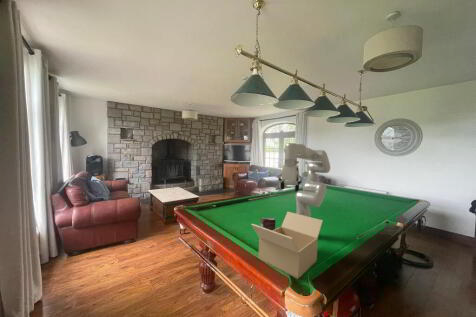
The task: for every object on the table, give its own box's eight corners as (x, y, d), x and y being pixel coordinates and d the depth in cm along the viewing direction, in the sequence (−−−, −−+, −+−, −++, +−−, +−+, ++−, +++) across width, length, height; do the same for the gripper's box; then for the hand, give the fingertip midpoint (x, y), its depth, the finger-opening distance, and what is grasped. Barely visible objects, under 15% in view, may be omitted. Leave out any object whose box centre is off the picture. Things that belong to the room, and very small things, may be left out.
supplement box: (271, 241, 117) (272, 217, 118) (275, 245, 113) (276, 219, 113) (259, 243, 115) (260, 217, 115) (262, 246, 110) (263, 220, 110)
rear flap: (281, 226, 112) (281, 226, 112) (317, 238, 97) (317, 238, 97) (287, 211, 117) (287, 212, 117) (322, 220, 102) (322, 220, 102)
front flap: (252, 223, 91) (251, 224, 91) (291, 237, 76) (291, 238, 76) (259, 236, 96) (259, 237, 96) (298, 251, 81) (298, 253, 81)
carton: (280, 246, 112) (281, 226, 112) (316, 260, 97) (317, 238, 97) (258, 259, 96) (259, 236, 96) (297, 279, 81) (299, 252, 81)
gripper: (306, 163, 111) (305, 191, 111) (281, 162, 123) (280, 187, 123) (301, 163, 106) (299, 192, 106) (275, 162, 118) (274, 188, 118)
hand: (289, 190), depth 114 cm, fingers open, 9 cm apart
